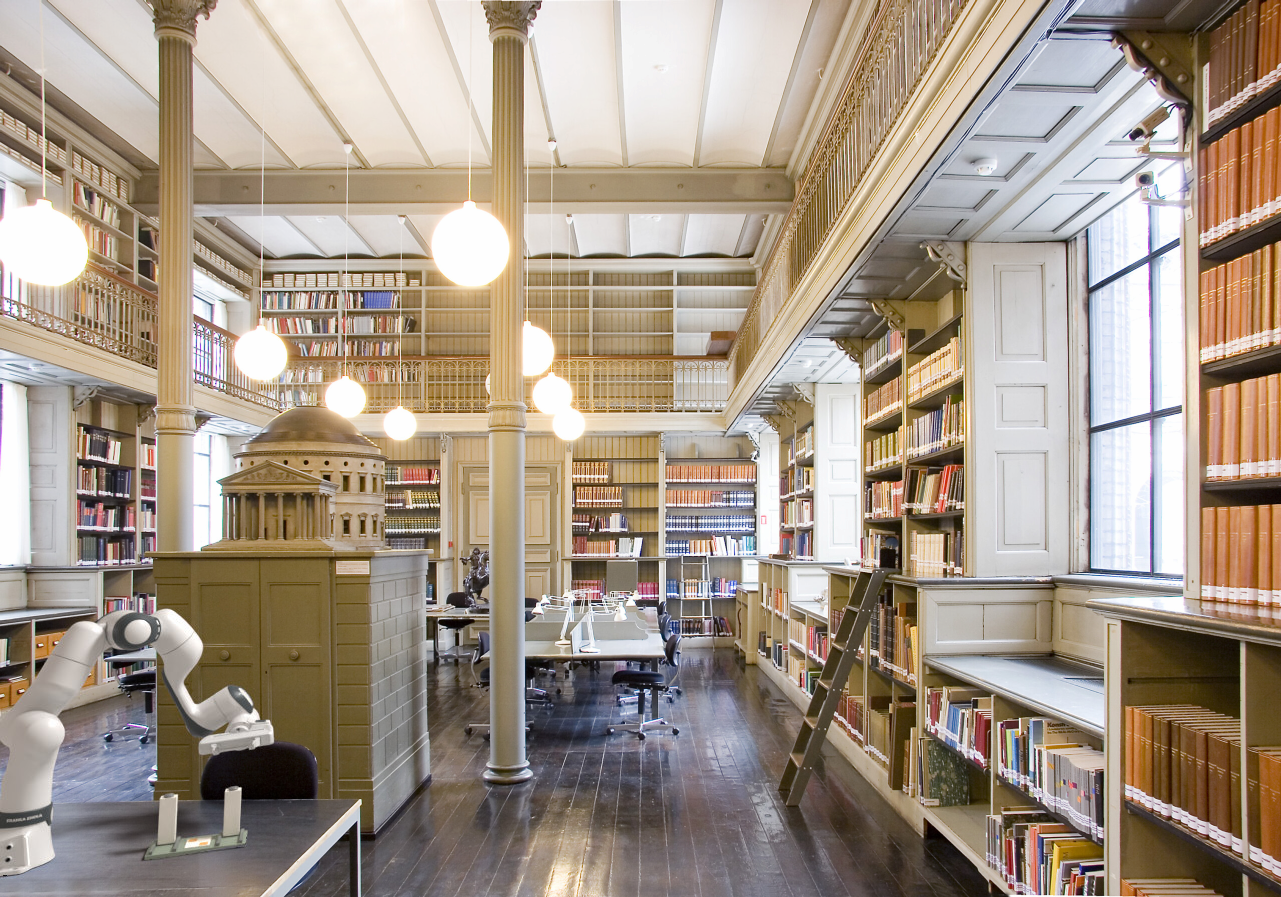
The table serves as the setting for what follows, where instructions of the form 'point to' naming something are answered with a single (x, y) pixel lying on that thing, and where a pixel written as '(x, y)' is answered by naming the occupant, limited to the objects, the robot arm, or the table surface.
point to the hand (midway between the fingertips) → (233, 749)
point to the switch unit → (194, 845)
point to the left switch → (167, 819)
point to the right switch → (232, 811)
